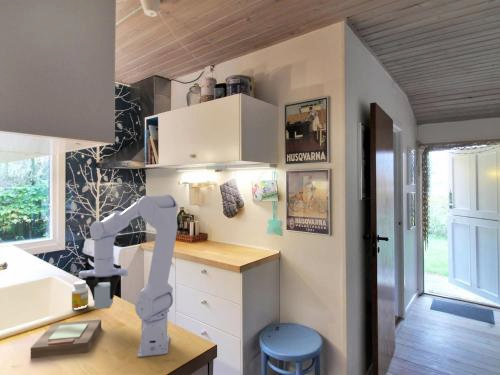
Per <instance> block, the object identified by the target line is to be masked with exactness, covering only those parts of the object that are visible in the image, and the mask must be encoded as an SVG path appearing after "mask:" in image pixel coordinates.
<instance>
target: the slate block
mask: <svg viewBox="0 0 500 375" xmlns="http://www.w3.org/2000/svg"><path fill="white" fill-rule="evenodd" d="M93 301H94V303H93V304H94V306H93V308H94V310H103V309H104V310H105V309H110V308H111V306H112V305H113V303H114V298H113V299H110V281H107V282H98V284H97V285H96V286H95V287H94V300H93Z"/></svg>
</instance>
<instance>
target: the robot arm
mask: <svg viewBox="0 0 500 375" xmlns="http://www.w3.org/2000/svg"><path fill="white" fill-rule="evenodd" d="M178 209H179V204H178V203H177V201H176V200H175V198H174V197H173V196H172V195H171V194H164V195H143V196H142V197H141V198H137V199H136V201H135V202H134V203H133V204H131V205H130V206H129V207H128V208H126V209H125V210H123V211H122V210H113V211H112V212H111V214H110V215H108V216H105V217H103V220H101V221H98V220H97V221H93V222H92V223H91V225H90V227H89V234H90V237H91V238H92V239H93V242H94V243H93V252H94V253H93V269H89V270H80V271H79V272H78V279H79V280H80V279H83V278H85V279H86V280H85V281H86V286H87V287H88V289H89V291H90V292H91V296H92V300H93V301H94V287H95V286H96V285H97V284H98V283H99V282H98V281H99V278H103V277H104V278H105V277H106V278H107V277H110V278H109V282H110V299H113V300H114V297H115V294H116V290H117V286H118V283H119V281H120V278H121V277H127V276H128V275H129V269H128V268H115V267H114V263H115V262H114V256H115V254H114V247H115V246H114V243H115V241H116V237H117V235H118V232H120V231H122V230H124V229H125V228H128V226H129V225H130V221H132V220H134V219H136V218H138V217H141V218H142V219H143V220H144V221H145V222H146V223H147V224H148V225H149V226H150V227H151V228H153V229H155V231H156V233H155V239H154V244H153V251H152V256H151V260H150V261H151V262H150V269H149V273H148V280H147V283H146V284H145V286H144V287H142V289H141V290H140V292H139V295H138V298H137V300H136V301H135V303H134V310H135V313H136V315H137V316H138V318H139V319H140V320H141V335H140V336H141V337H140V338H141V340H140V344H139V348H138V350H137V351H138V352H137V355H136V356H137V358H139V357H142V358H143V357H148V356H149V357H150V356H158V355H166V354H168V352H169V344H170V343H169V341H170V335H168V313H169V312H170V308H171V307H172V305H173V304H174V296H173V291H174V290H173V289H174V287H173V286H172V285H171V284H170V283H168V282H169V279H170V278H169V277H170V273H171V272H170V271H171V267H172V261H173V255H174V250H175V244H176V238H177V234H178V228H179V227H178V220H177V219H178V218H177V214H178Z"/></svg>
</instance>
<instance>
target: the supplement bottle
mask: <svg viewBox="0 0 500 375" xmlns="http://www.w3.org/2000/svg"><path fill="white" fill-rule="evenodd" d="M73 287H74V288H72V290H71V310H72V309H74V308H78V307H81V306H85V305H87V304H88V305H89V287H88V286H87V284H86V280H78V281H75V282H74V283H73Z"/></svg>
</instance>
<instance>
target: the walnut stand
mask: <svg viewBox="0 0 500 375" xmlns="http://www.w3.org/2000/svg"><path fill="white" fill-rule="evenodd" d="M101 329H102V319H101V318H99V319H89V320H88V319H87V320H80V321H76V320H75V321H67V322H54V323H53V322H52V324H51V325H50V326H49V327H48V328H47V330H46V331H45V332H44V333H43V334H42V335H41V336H40V337H39V338H38V339H37V341H35V343H34V344H32V346H31V347H30V358H31V359H33V358H43V357H54V356H65V355H75V354H82V353H83V354H84V353H89V351H90V349H91V347H92V345H93V343H94V341H95V340H96V338H97V336H98V334H99V333H100V331H101Z"/></svg>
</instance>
